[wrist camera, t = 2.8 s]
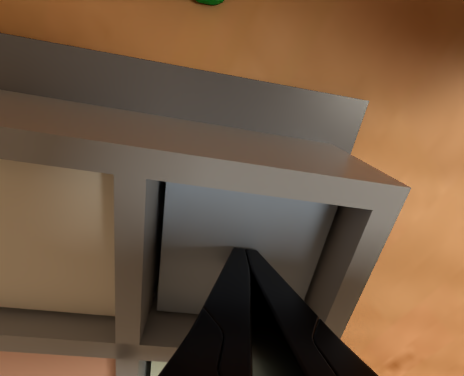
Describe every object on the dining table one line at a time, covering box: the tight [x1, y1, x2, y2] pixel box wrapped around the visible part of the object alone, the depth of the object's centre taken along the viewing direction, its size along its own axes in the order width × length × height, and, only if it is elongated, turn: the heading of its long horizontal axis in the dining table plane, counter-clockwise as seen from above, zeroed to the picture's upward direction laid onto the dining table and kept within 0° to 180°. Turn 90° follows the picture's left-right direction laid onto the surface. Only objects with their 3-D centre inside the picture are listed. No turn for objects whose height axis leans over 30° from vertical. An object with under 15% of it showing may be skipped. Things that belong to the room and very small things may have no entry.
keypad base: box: [0, 33, 411, 376], centre depth 12 cm, size 17×19×6 cm
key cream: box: [0, 159, 115, 316], centre depth 9 cm, size 6×6×3 cm
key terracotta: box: [0, 351, 116, 376], centre depth 12 cm, size 6×6×3 cm
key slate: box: [157, 182, 338, 314], centre depth 11 cm, size 6×6×3 cm
